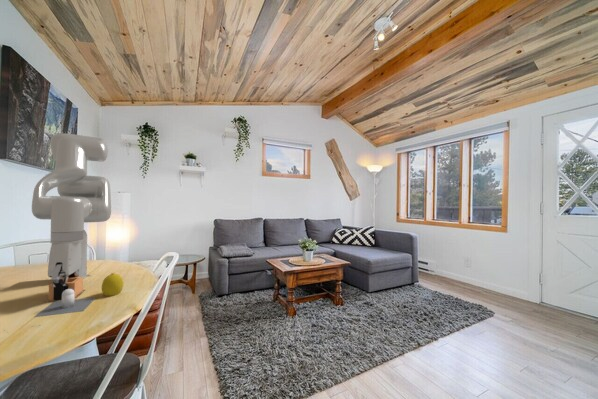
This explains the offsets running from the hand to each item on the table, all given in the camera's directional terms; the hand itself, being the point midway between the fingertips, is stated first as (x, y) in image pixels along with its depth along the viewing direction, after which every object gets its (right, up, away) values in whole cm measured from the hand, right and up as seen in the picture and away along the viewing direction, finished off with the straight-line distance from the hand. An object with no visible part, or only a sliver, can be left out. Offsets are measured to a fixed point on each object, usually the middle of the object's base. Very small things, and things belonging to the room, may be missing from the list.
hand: (66, 294), depth 77 cm
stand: (0, -2, 0) cm, 2 cm away
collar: (0, 0, 0) cm, 0 cm away
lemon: (+13, -2, +2) cm, 13 cm away
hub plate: (+7, -2, -8) cm, 11 cm away
